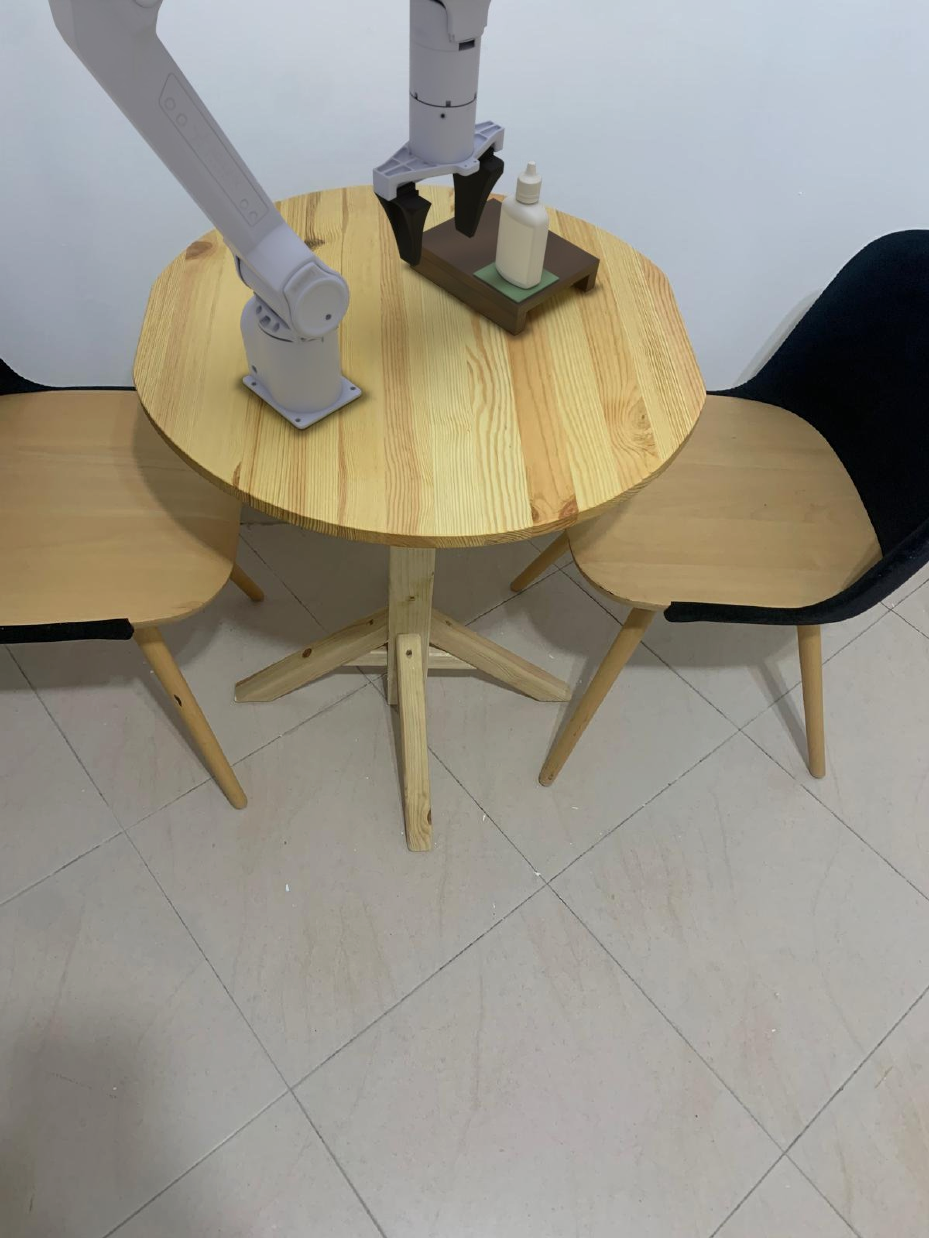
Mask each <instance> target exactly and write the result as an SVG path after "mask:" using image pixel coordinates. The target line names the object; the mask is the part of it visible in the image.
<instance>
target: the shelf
mask: <svg viewBox="0 0 929 1238" xmlns="http://www.w3.org/2000/svg"><path fill="white" fill-rule="evenodd" d="M502 202H503V201H500V200H498V199H497V198H495V197H491V199H487V201H486V204H485V206H484V209H483V212H482V215H481V218H480V221H479V224H478V227H477V229H476V232H475V235H474V236H473V237H471V238H469V237H467V236H465V235H464V234H462V233H461V232H459V231H457V230H456V228H455V220H454V216H453V217H451V218H449V219H447V220H444V221H442V222H440V223H439V224H436V225H435V226H432V227H431V228H428V229H426V230H423V236H422V251H421V259H420V262H419V265H417V266H415V267H414V266H411V265H410V264H409V267H410V268H412V270H414V271H416V272H418V273H419V274H421V275H422V276H424V277H425V278H427V279H428V280H429V281H431V282H433V283H434V284H435V285H437V286H438V287H440V288H442V289H443V290H445V291H446V292H448V293H450V294H451V295H452V296H454V297H456V298H457V299H459V300H460V301H461V302H463V303H464V304H466V305H468V306H469V307H471V308H472V309H473V310H475V311H476V312H478V313H479V314H481V315H483V316H484V317H485V318H487V319H489V320H490V321H492V322H493V323H494V324H496V325H498V326H500V327H501V328H502V329H504V330H506V332H508V333H510V334H512V336H516V335H518V334H519V333H522V331H525V325H526V318H527V312H528V311H530V310H532V309H534V308H535V307H537V306H539V305H540V304H542V303H544V302H546V301H547V300H549V299H550V298H552V297H554V296H555V295H557V294H559V293H560V292H562V291H564V290H565V289H567V288H569V287H571V286H572V285H573V286H575V287H576V288H577V289H579V290H581V291H583V292H584V293H587V292H589V291H590V290H592V289H594V288H595V284H596V279H597V276H598V271H599V267H600V263H601V259H600V258H598V257H596V256H595V255H593V254H591V253H590V252H588V251H587V250H584V249H583V248H581V247H580V246H578V245H576V244H574V243H573V242H570V241H569V240H567V239H566V238H564V237H562V236H561V235H559V234H557V233H555V232H553V231H552V230H550V229H548V235H547V242H546V249H545V255H544V261H543V268H542V274H541V280H540V283H538V284H537V285H535V286H533V287H531V288H528V289H524V288H520V287H518V286H516V285H513V284H511V283H510V282H508V281H507V280H505V279H504V278H503V277H502V276H501V275H500V274H499V272H498V271H497V269H496V266H495V262H496V252H497V242H498V233H499V223H500V214H501V206H502Z"/></svg>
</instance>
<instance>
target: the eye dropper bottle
mask: <svg viewBox="0 0 929 1238" xmlns="http://www.w3.org/2000/svg"><path fill="white" fill-rule="evenodd" d="M542 181H543V178H542V175H540V174H539V173H537V168H536V162H535V161H533V160H529V161H528V162H527V165H526V168H525V171H522V172H520V173H519V174H518V175H517V179H516V188H515V193H511V194H509V195H508V196H506V197H505V198H503V200H502V201H501V202H502V206H501V214H500V223H499V233H498V242H497V252H496V262H495V266H496V269H497V271H498V272H499V274H500V275H501V276H502V277H503V278H504V279H505V280H507V281H508V282H510V283H511V284H513V285H516V286H518V287H520V288H524V289H528V288H531V287H533V286H535V285H537V284H538V283H540V280H541V274H542V268H543V261H544V255H545V249H546V242H547V235H548V230H549V228H550V216H549V213H548V211H547V209H546V207H545V206H544V204H543V203H542V202H541V200H540V197H541V196H540V195H541V189H542Z"/></svg>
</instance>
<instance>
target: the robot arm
mask: <svg viewBox="0 0 929 1238" xmlns="http://www.w3.org/2000/svg"><path fill="white" fill-rule="evenodd" d="M47 1H48V5H49V8H50V13H51V16H52V19H53V22H54V26H55V28H56V29H57V31H58V34H60V36H61V38H62V40H63V41H64V43H65V44H66V46H68V47H69V49H70V50H71V51H72V53H73V54H74V55H75V56H76V58H77V59H78V60H79V61H80V62H81V63H82V65H83V67H85V68H86V70H87V71H88V72H89V74H90V75H91V76H92V77H93V78H94V80H95V81H96V82H97V84H98V85H99V86H100V87H101V88H102V89H103V91H104V92H105V93H106V94H107V95H108V97H109V98H110V99H111V100H112V102H113V103H114V104H115V106H116V107H117V108H118V109H119V110H120V112H121V113H122V114H123V116H124V117H125V118H126V119H127V120H128V122H129V123H130V124H131V125H132V127H133V128H134V129H135V130H136V131H137V133H138V134H139V136H140V137H141V138H142V139H143V140H144V141H145V142H146V144H147V145H148V147H150V149H151V150H152V151H153V153H154V154H155V155H156V156H157V157H158V159H159V160H160V161H161V162H162V164H163V165H164V166H165V167H166V168H167V170H168V171H169V172H170V173H171V174H172V176H173V177H174V178H175V180H176V181H177V182H178V183H179V185H180V186H181V187H182V188H183V189H184V191H185V192H186V193H187V194H188V195H189V197H190V198H191V199H192V200H193V202H194V203H195V204H196V205H197V206H198V208H199V209H200V210H201V212H202V213H203V214H204V216H206V218H207V219H208V220H209V221H210V223H211V224H212V225H213V226H214V227H215V229H216V231H218V233H220V235H221V236H222V242H223V243H224V244H225V246H226V247H227V248H228V250H229V251H230V253H231V255H232V257H233V262H234V266H235V267H234V268H235V271H236V275H237V276H238V278H239V280H240V281H241V282H242V283H243V285H245V286H246V288H248V289H250V290H252V291H253V292H252V294H253V295H252V296H251V297H250V298H249V299H248V300H247V301H246V303H245V305H244V307H243V308H242V312H241V316H240V322H239V328H240V332H241V338H242V344H243V347H244V352H245V358H246V362H247V367H248V371H249V374H248V375H246V376H244V377H243V379H242V382H243V384H244V385H245V386H246V387H247V388H249V389H250V390H251V391H252V392H254V393H255V394H256V395H257V396H259V398H261V399H262V400H263V401H264V402H266V403H267V404H268V405H269V406H270V407H271V408H273V410H275V411H277V412H278V413H279V414H280V415H281V416H283V417H284V418H285V419H286V420H287V421H289V422H290V423H291V424H292V425H293V426H294V427H296V428H297V429H299V430H304V429H306V428H308V427H310V426H312V425H313V424H315V423H317V422H319V421H320V420H321V419H324V418H325V417H327V416H329V415H330V414H332V413H333V412H335V411H337V410H339V409H340V408H342V407H344V406H345V405H347V404H349V403H350V402H352V401H354V400H355V399H357V398H360V396H361V395H362V389H361V388H359V387H358V386H357V385H356V384H354V383H353V382H351V381H350V380H349V379H347V378H346V377H345V376H343V374H342V362H341V352H340V351H341V350H340V340H339V328H340V324H341V323H342V321H343V320H344V318H345V316H346V314H347V311H348V309H349V305H350V299H351V296H350V295H351V294H350V287H349V284H348V282H347V280H346V279H345V277H344V276H343V275H342V274H341V273H340V272H339V271H337V270H335V269H334V268H332V267H330V266H329V264H327V263H326V262H324V261H323V260H322V259H321V258H320V257H319V256H318V255H317V254H315V252H313V251H312V249H310V247H309V246H308V245H307V244H306V243H305V241H303V239H302V238H301V237H300V236H299V234H297V233H296V231H295V230H294V229H293V228H292V227H291V226H290V225H289V224H288V223H287V221H286V219H284V217H283V216H282V214H281V212H279V210H278V208H277V207H276V205H275V203H274V202H273V201H272V199H271V198H270V197H269V195H268V194H267V192H266V190H265V189H264V188H263V186H262V185H261V184H260V182H259V181H258V179H257V178H256V177H255V174H254V173H253V172H252V170H251V169H250V168H249V166H248V165H247V163H246V162H245V160H244V159H243V158H242V156H241V155H240V153H239V152H238V151H237V149H236V147H235V146H234V145H233V143H232V142H231V140H230V139H229V137H228V136H227V135H226V133H225V132H224V131H223V129H222V128H221V126H220V124H219V123H218V122H217V120H216V119H215V117H214V116H213V114H212V113H211V111H210V110H209V109H208V107H207V105H206V104H205V102H204V101H203V100H202V98H201V97H200V96H199V94H198V93H197V91H196V89H195V88H194V87H193V86H192V84H191V82H190V81H189V80H188V78H187V77H186V75H185V73H183V71H182V69H181V68H180V66H179V65H178V63H177V62H176V61H175V59H174V58H173V56H172V55H171V54H170V52H169V51H168V49H167V48H166V46H165V44H164V43H163V42H162V41H161V39H160V37H159V36H158V34H157V24H158V18H159V17H158V16H159V11H160V9H161V6H162V4H163V2H164V0H47ZM491 2H492V0H409V37H408V39H409V45H408V46H409V48H408V51H409V54H408V55H409V59H408V61H409V62H408V65H409V67H408V69H409V71H408V73H409V74H408V76H409V77H408V80H409V81H408V83H409V85H408V101H409V102H408V116H409V117H408V123H409V124H408V141H406V142H405V143H404V145H402V146H401V147H400V148H399V149H398V150H397V151H396V152H395V153H393V154H392V155H391V156H390V157H389V158H388V159H387V160H386V161H385V162H383V163H382V164H380V165H379V166H375V168H372V187H373V188H372V189H373V190H372V191H373V193H374V195H375V197H376V198H377V200H378V202H379V203H380V205H381V207H382V209H383V210H384V213H385V214H386V215H385V216H386V218H387V219H388V222H389V224H390V227H391V229H392V233H393V235H394V239H395V243H396V246H397V250H398V255H399V258H400V259H401V260H402V261H403V262H405V263H406V264H408V265H409V266H410V265H411V266H414V267H415V266H417V265H419V262H420V259H421V251H422V236H423V232H424V231H425V230H424V229H425V224H426V220H427V217H428V214H429V211H430V209H431V207H432V206H433V205H432V204H433V203H432V201H429V200H427V198H424V197H423V196H421V195H420V190H419V189H416V188H417V184H418V183H419V182H422V181H424V180H426V179H430V178H435V177H441V176H448V175H452V181H453V193H454V202H453V204H454V207H453V208H454V209H453V211H454V213H453V217H454V220H455V228H456V230H457V231H459V232H461V233H462V234H464V235H465V236H467V237H469V238H471V237H473V236H474V235H475V232H476V229H477V227H478V224H479V221H480V218H481V215H482V212H483V209H484V206H485V204H486V201H488V200H489V197H490V195H491V193H492V191H493V189H494V187H495V186H496V185H497V183H498V181H499V180H500V178H501V177H502V176H503V174H504V171H505V161H504V160H503V159H502V158H500V157H499V156H496V155H495V153H498V152H500V151H502V150H503V149H504V140H505V139H504V138H505V129H506V128H505V127H504V126H503V125H500V124H498V123H497V122H495V121H493V120H491V119H489V120H485V121H482V122H478V123H476V120H477V118H476V117H477V105H478V104H477V103H478V92H479V91H478V90H479V79H480V78H479V76H480V61H481V49H482V48H481V46H482V36H483V34H484V32H485V28H486V27H487V26H488V19H489V9H490V5H491Z"/></svg>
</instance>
